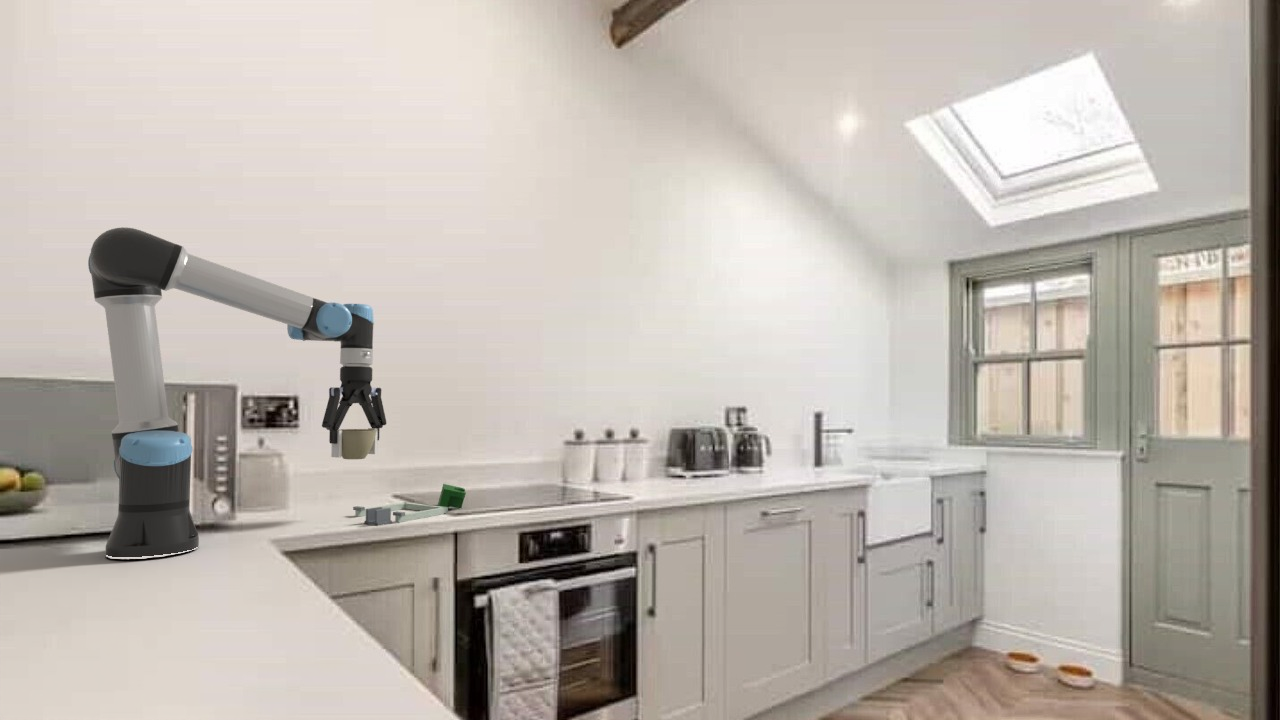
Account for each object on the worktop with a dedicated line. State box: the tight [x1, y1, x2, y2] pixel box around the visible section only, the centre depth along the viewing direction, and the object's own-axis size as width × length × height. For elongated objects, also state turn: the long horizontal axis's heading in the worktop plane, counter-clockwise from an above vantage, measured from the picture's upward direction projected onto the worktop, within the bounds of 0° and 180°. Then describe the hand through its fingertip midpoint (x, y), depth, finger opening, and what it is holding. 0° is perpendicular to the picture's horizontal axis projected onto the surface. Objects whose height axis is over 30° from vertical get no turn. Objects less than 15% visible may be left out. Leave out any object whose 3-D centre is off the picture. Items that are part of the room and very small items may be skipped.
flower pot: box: [340, 428, 376, 460], centre depth 178 cm, size 10×10×7 cm
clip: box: [363, 506, 393, 526], centre depth 172 cm, size 4×5×4 cm
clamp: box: [437, 483, 467, 509], centre depth 196 cm, size 12×6×9 cm, turn 10°
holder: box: [352, 501, 449, 523], centre depth 184 cm, size 16×18×2 cm
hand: (354, 455), depth 177 cm, fingers closed on flower pot, 10 cm apart
